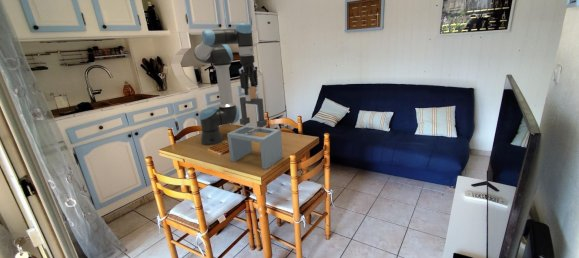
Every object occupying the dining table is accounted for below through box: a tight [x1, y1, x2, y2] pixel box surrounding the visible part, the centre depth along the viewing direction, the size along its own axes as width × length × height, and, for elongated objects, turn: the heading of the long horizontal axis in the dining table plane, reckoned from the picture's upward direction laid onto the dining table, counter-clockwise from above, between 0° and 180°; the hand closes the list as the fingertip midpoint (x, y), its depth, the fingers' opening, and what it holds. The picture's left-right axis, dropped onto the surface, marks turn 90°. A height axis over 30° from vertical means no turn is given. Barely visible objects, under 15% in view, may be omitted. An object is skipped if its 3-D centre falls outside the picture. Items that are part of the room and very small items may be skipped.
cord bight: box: [239, 85, 268, 128], centre depth 150 cm, size 15×5×21 cm, turn 60°
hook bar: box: [245, 126, 262, 136], centre depth 154 cm, size 2×13×2 cm, turn 149°
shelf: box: [226, 124, 284, 170], centre depth 157 cm, size 25×17×17 cm
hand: (251, 99), depth 148 cm, fingers closed on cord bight, 4 cm apart
